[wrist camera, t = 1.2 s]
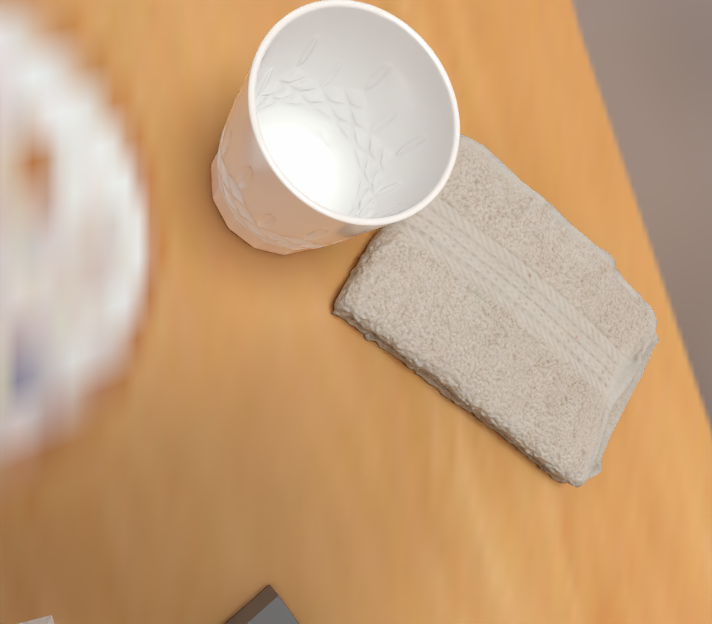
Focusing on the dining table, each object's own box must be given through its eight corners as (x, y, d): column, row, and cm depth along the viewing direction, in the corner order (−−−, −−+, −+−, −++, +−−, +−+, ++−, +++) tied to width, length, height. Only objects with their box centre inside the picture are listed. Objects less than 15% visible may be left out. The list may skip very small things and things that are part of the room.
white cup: (359, 266, 33) (468, 227, 24) (200, 267, 30) (254, 222, 20) (349, 113, 33) (453, 16, 24) (192, 98, 30) (242, -20, 21)
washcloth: (563, 492, 37) (603, 503, 34) (315, 313, 32) (338, 308, 29) (642, 321, 41) (684, 318, 38) (428, 135, 36) (458, 115, 33)
